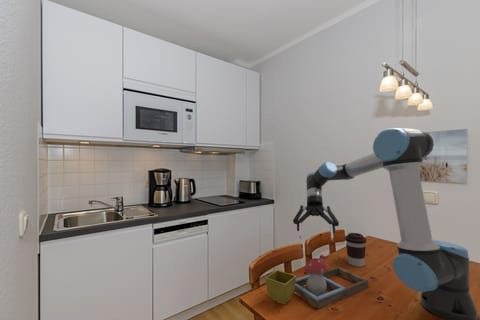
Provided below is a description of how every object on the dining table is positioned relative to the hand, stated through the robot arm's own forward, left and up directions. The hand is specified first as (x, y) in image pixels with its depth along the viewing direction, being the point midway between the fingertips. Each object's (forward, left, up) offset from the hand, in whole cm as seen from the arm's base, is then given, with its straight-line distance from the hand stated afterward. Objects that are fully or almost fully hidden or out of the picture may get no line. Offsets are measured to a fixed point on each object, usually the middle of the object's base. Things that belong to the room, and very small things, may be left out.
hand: (315, 238), depth 106 cm
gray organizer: (-8, +1, -19) cm, 20 cm away
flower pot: (-4, +23, -19) cm, 30 cm away
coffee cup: (+2, -30, -19) cm, 36 cm away
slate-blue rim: (-8, +8, -16) cm, 19 cm away
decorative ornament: (-7, +8, -19) cm, 22 cm away
